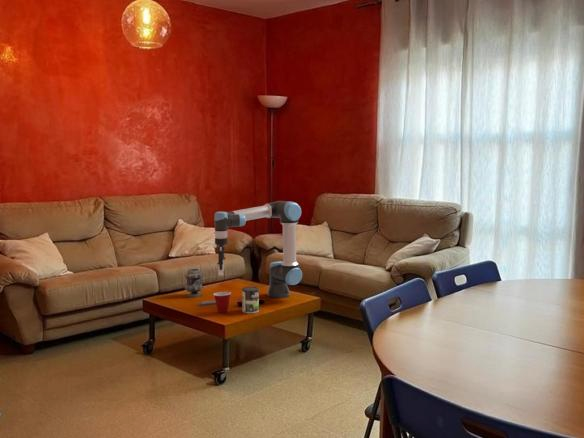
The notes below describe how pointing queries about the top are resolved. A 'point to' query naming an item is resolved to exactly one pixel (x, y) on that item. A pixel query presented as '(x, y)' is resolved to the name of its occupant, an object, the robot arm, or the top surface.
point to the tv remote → (207, 303)
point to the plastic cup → (222, 301)
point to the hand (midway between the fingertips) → (221, 272)
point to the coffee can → (250, 299)
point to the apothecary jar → (193, 282)
